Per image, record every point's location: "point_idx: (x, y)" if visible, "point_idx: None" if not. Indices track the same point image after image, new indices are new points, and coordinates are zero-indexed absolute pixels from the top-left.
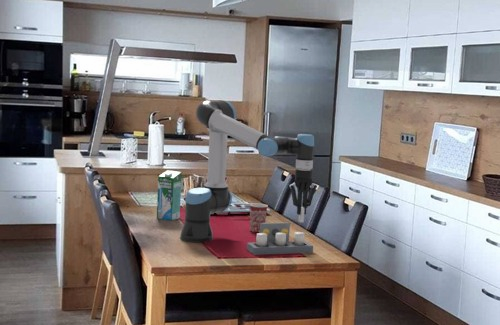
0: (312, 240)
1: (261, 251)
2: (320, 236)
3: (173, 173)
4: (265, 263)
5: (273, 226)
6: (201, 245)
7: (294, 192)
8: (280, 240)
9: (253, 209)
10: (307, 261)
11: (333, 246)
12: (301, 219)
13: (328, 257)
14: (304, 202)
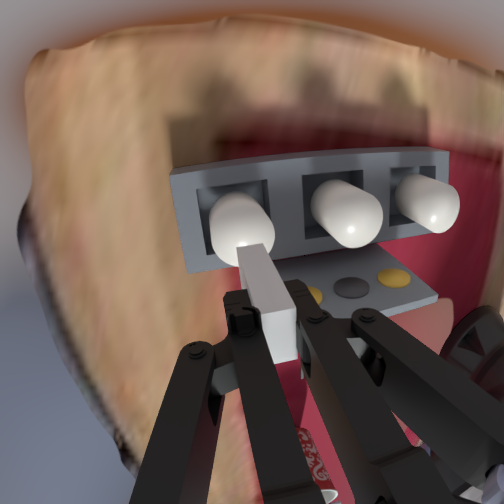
0: (127, 376)
1: (416, 149)
2: (97, 411)
3: None
4: (412, 60)
5: (374, 301)
6: (488, 282)
7: (487, 411)
8: (354, 186)
9: (330, 483)
10: (236, 56)
11: (57, 303)
12: (262, 253)
13: (111, 125)
14: (273, 364)
